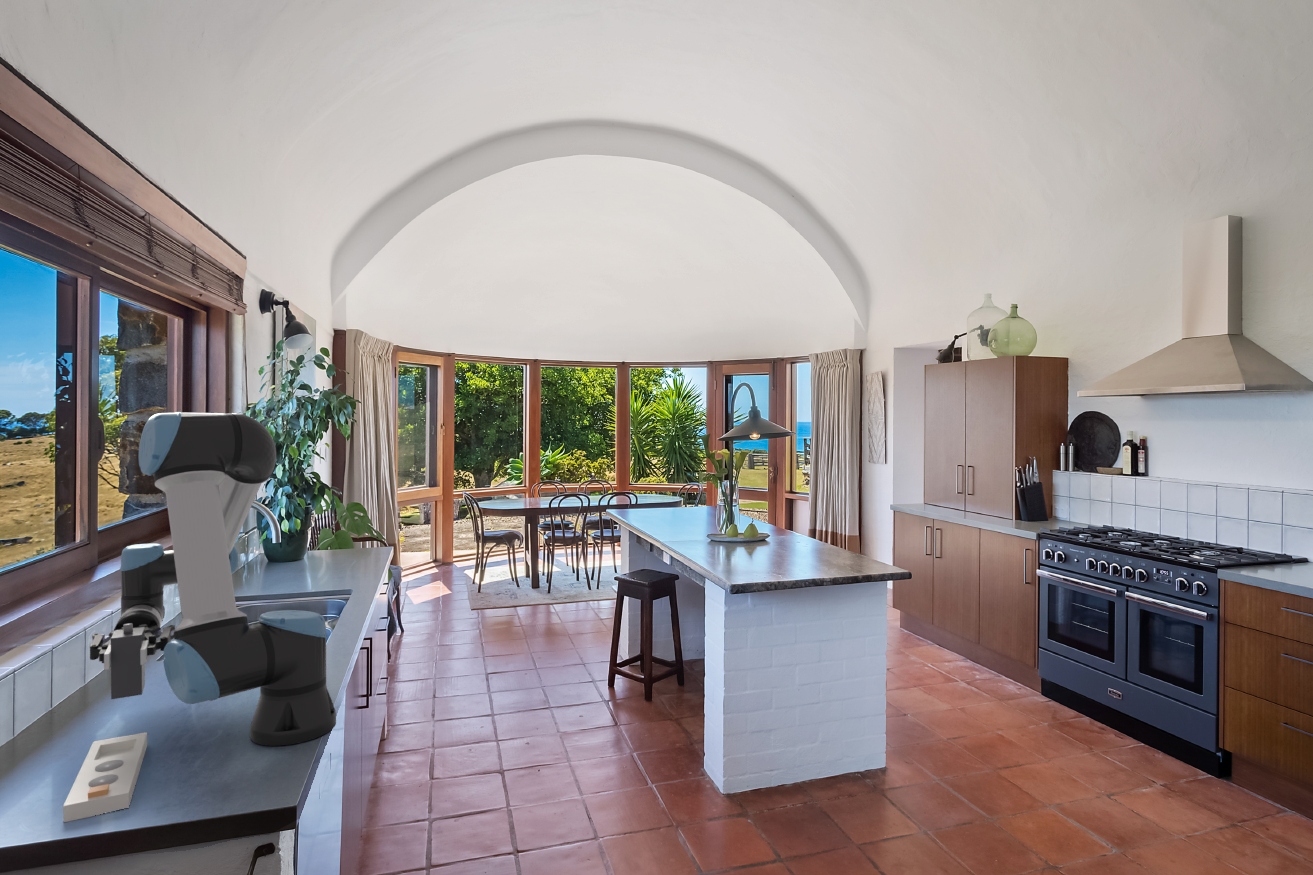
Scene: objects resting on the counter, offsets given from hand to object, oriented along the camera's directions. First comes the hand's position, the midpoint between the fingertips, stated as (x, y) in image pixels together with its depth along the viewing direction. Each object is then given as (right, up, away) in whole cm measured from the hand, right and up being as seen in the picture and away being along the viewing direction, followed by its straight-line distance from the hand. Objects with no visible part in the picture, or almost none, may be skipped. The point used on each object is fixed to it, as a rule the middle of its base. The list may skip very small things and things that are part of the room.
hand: (125, 659), depth 129 cm
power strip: (+2, -18, -7) cm, 20 cm away
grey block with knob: (-3, -7, +5) cm, 9 cm away
